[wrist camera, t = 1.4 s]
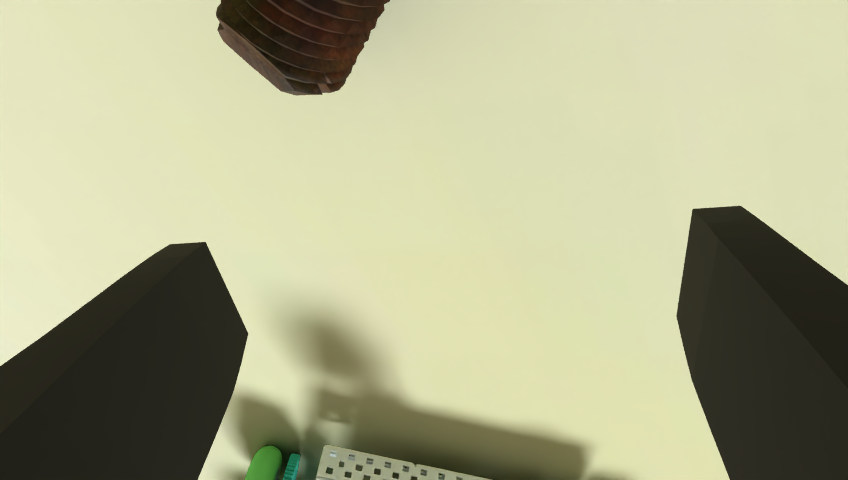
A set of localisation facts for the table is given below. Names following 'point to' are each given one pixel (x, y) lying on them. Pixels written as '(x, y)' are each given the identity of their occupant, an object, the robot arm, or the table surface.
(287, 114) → the table surface
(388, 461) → the robot kit
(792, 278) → the robot arm
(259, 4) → the bolt
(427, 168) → the table surface
